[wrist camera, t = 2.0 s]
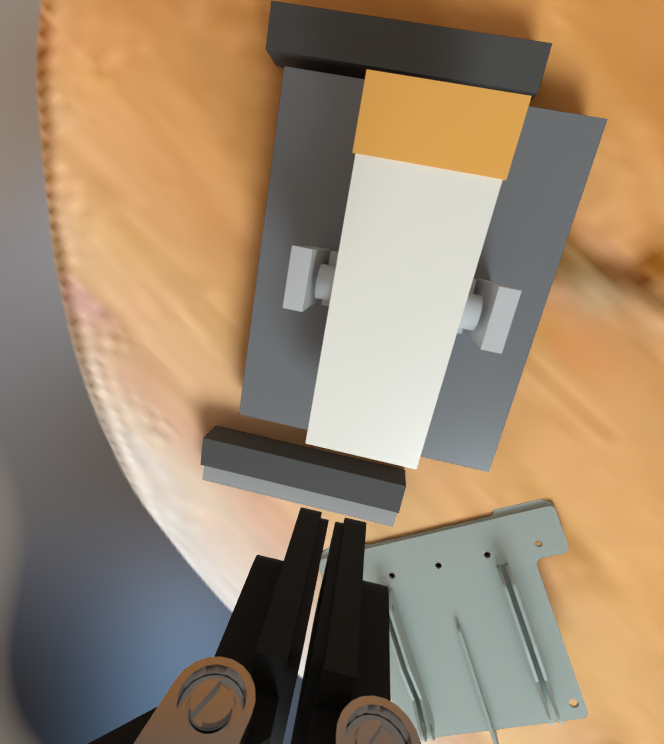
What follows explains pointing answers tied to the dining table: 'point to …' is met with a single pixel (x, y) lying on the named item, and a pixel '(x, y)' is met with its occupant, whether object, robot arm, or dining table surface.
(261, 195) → the dining table surface
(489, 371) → the panel
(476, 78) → the pair of grey rails
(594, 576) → the dining table surface
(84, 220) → the dining table surface
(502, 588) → the metal bracket
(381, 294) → the rocker lever
